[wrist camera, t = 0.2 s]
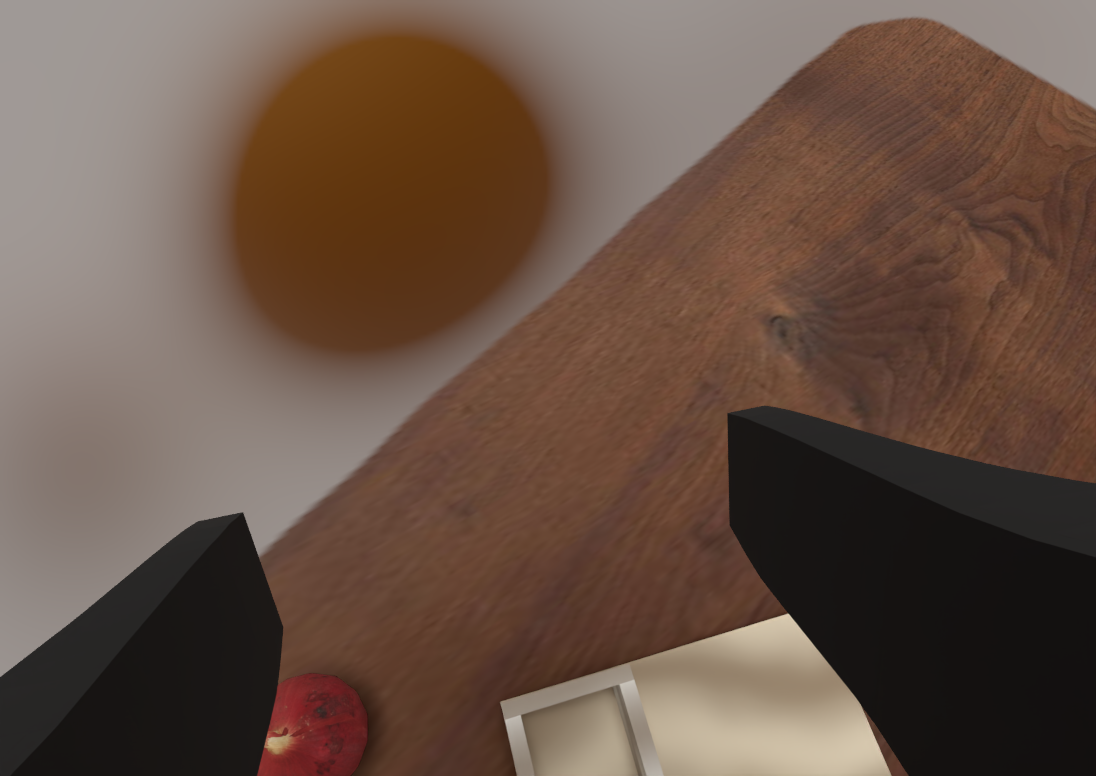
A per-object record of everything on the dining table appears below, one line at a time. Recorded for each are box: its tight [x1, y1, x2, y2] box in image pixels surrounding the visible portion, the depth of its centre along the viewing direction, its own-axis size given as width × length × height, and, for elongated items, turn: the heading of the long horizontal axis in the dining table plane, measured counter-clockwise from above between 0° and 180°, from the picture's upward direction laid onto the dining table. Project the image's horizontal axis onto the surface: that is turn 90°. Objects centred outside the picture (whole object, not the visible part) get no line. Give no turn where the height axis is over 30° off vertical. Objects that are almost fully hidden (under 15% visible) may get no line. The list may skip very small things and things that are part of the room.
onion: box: [257, 673, 368, 776], centre depth 33 cm, size 6×6×8 cm
